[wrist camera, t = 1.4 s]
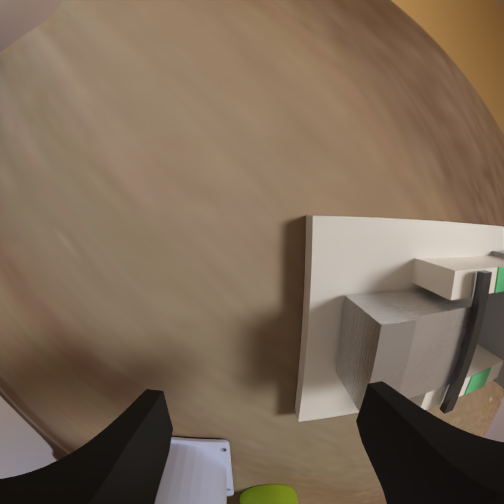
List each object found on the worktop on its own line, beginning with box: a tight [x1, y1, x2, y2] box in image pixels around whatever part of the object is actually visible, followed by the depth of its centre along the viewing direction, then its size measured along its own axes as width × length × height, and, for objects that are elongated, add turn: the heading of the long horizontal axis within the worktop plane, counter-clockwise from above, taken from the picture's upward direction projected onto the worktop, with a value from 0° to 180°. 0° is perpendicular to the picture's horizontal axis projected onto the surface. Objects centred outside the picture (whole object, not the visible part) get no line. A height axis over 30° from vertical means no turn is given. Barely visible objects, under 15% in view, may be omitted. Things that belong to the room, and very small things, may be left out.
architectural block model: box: [295, 215, 504, 422], centre depth 13 cm, size 20×14×10 cm
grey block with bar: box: [336, 270, 492, 414], centre depth 13 cm, size 8×9×5 cm
